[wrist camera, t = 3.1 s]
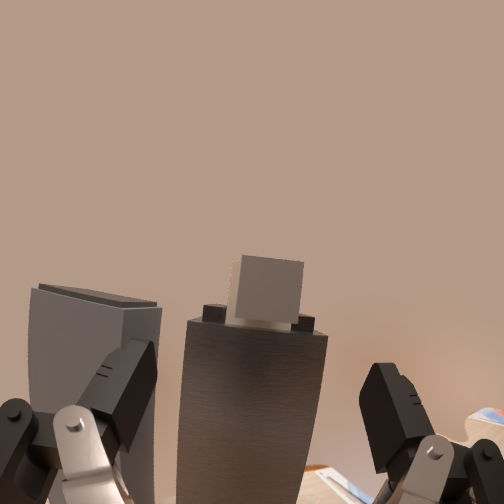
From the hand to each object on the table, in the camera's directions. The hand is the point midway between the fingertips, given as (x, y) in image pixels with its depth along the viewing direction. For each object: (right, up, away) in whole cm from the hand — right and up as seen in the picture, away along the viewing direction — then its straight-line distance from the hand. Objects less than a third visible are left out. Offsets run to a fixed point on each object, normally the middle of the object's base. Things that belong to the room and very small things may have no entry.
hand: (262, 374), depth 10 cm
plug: (0, -1, +10) cm, 10 cm away
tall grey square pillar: (-19, -32, +10) cm, 38 cm away
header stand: (-4, -33, +10) cm, 35 cm away
